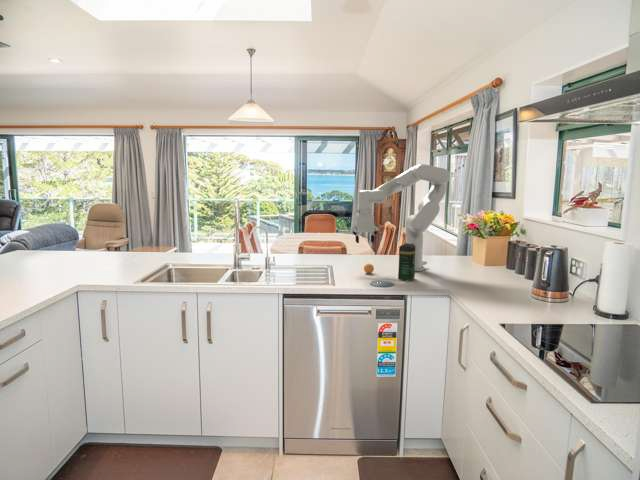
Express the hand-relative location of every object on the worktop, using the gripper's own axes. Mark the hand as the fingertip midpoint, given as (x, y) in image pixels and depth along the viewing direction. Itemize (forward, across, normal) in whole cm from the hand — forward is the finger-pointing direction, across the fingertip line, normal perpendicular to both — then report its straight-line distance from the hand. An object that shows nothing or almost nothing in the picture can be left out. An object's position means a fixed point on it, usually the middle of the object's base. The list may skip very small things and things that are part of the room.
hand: (364, 242), depth 233 cm
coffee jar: (+16, +16, -26) cm, 34 cm away
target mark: (+16, 0, -34) cm, 38 cm away
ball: (+13, 0, -9) cm, 16 cm away
